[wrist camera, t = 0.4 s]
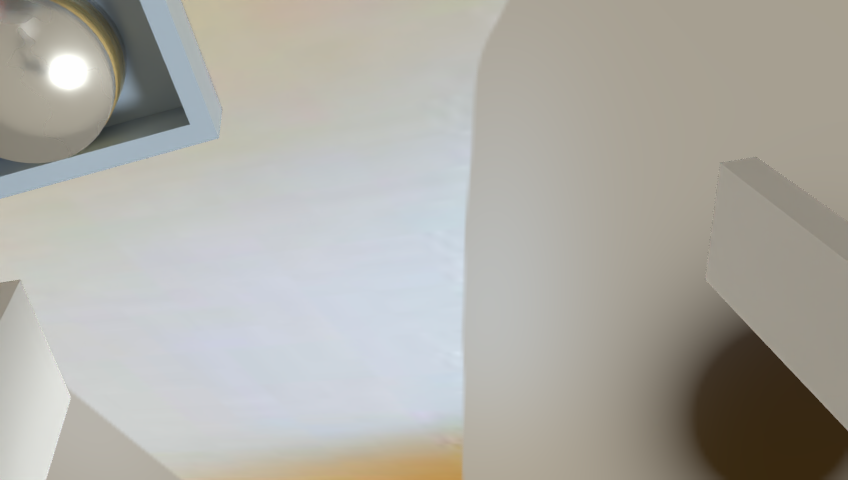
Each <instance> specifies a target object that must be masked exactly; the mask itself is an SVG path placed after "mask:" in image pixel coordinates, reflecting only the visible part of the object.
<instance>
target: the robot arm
mask: <svg viewBox="0 0 848 480" xmlns="http://www.w3.org/2000/svg"><path fill="white" fill-rule="evenodd" d="M705 280H706V281H707V282H708V283H709V284H710V285H711V286H712V287H713V289H715V291H716V292H717V293H718V294H719V295H720V296H721V297H722V298H723V299H724V300H725V301H726V302H727V303H728V304H729V305H730V306H731V308H732V309H733V310H734V311H735V312H736V313H737V314H738V315H739V316H740V317H741V318H742V319H743V320H744V321H745V322H746V323H747V325H748V326H749V327H750V328H751V329H752V330H753V331H754V332H755V333H756V334H757V335H758V336H759V337H760V338H761V339H762V340H763V341H764V342H765V343H766V345H767V346H768V347H769V348H770V349H771V350H772V351H773V352H774V353H775V354H776V355H777V356H778V357H779V358H780V359H781V360H782V362H784V364H785V365H786V366H787V367H788V368H789V369H790V370H791V371H792V372H793V373H794V374H795V375H796V376H797V377H798V378H799V379H800V381H801V382H802V383H803V384H804V385H805V386H806V387H807V388H808V389H809V390H810V391H811V392H812V393H813V394H814V395H815V396H816V397H817V399H818V400H819V401H820V402H821V403H822V404H823V405H824V406H825V407H826V408H827V409H828V410H829V411H830V412H831V413H832V414H833V415H834V416H835V418H836V419H837V420H838V421H839V422H840V423H841V424H842V425H843V426H844V427H845V428H846V429H847V430H848V221H847V220H845V219H844V218H842V217H841V216H839V215H838V214H837V213H835V212H834V211H832V210H831V209H830V208H828V207H827V206H825V205H824V204H822V203H821V202H819V201H818V200H817V199H815V198H814V197H812V196H811V195H810V194H808V193H807V192H805V191H804V190H802V189H801V188H800V187H798V186H797V185H795V184H794V183H793V182H791V181H790V180H788V179H787V178H786V177H784V176H783V175H781V174H780V173H778V172H777V171H776V170H774V169H773V168H771V167H770V166H769V165H767V164H766V163H764V162H763V161H761V160H760V159H759V158H757V157H752V158H746V159H740V160H734V161H728V162H722V163H720V167H719V175H718V183H717V190H716V198H715V206H714V214H713V222H712V229H711V237H710V245H709V252H708V260H707V267H706V275H705ZM70 399H71V397H70V394H69V392H68V390H67V387H66V385H65V383H64V380H63V378H62V376H61V373H60V371H59V369H58V366H57V364H56V362H55V359H54V357H53V355H52V352H51V350H50V348H49V345H48V343H47V341H46V338H45V336H44V334H43V331H42V329H41V327H40V324H39V322H38V320H37V317H36V315H35V313H34V310H33V308H32V305H31V303H30V301H29V298H28V296H27V294H26V291H25V289H24V287H23V284H22V282H21V280H15V281H9V282H3V283H0V480H46V478H47V474H48V471H49V468H50V465H51V461H52V458H53V455H54V452H55V448H56V445H57V442H58V439H59V435H60V432H61V429H62V426H63V422H64V419H65V416H66V413H67V409H68V406H69V403H70Z"/></svg>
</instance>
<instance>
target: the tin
mask: <svg viewBox="0 0 848 480" xmlns="http://www.w3.org/2000/svg"><path fill="white" fill-rule="evenodd" d="M126 74H127V54H126V50H125V45H124V42H123V39H122V36H121V34H120V32H119V30H118V28H117V26H116V24H115V23H114V21H113V20H112V18H111V17H110V16H109V14H108V13H107V12H106V11H105V10H104V8H103V7H102V6H100V5H99V4H98V3H97V2H96V1H95V0H0V158H3V159H6V160H10V161H15V162H22V163H48V162H53V161H58V160H62V159H65V158H68V157H70V156H72V155H74V154H76V153H78V152H80V151H81V150H83V149H84V148H86V147H87V146H88V145H89V144H91V143H92V142H93V141H94V140H95V139H96V137H97V136H98V135H99V134H100V132H101V131H102V129H103V127H104V126H105V125H106V123H107V121H108V120H109V118H110V116H111V114H112V112H113V110H114V108H115V106H116V104H117V101H118V99H119V97H120V94H121V92H122V89H123V85H124V82H125V78H126Z"/></svg>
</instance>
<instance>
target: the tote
mask: <svg viewBox="0 0 848 480" xmlns="http://www.w3.org/2000/svg"><path fill="white" fill-rule="evenodd" d="M95 1H96V2H97V3H98V4H99V5H100V6H102V7H103V8H104V10H105V11H106V12H107V13H108V14H109V16H110V17H111V18H112V20H113V21H114V23H115V24H116V26H117V28H118V30H119V32H120V34H121V36H122V39H123V42H124V45H125V50H126V54H127V74H126V78H125V82H124V85H123V89H122V92H121V94H120V97H119V99H118V101H117V104H116V106H115V108H114V110H113V112H112V114H111V116H110V118H109V120H108V121H107V123H106V125H105V126H104V127H103V129H102V131H101V132H100V134H99V135H98V136H97V137H96V139H95V140H94V141H93V142H92V143H91V144H89V145H88V146H87V147H86V148H84V149H83V150H81V151H80V152H78V153H76V154H74V155H72V156H70V157H68V158H65V159H62V160H58V161H53V162H48V163H22V162H15V161H10V160H6V159H3V158H0V199H1V198H5V197H8V196H12V195H16V194H19V193H23V192H26V191H30V190H34V189H37V188H41V187H44V186H48V185H52V184H55V183H59V182H62V181H66V180H70V179H73V178H77V177H80V176H84V175H88V174H91V173H95V172H99V171H102V170H106V169H109V168H113V167H117V166H120V165H124V164H127V163H131V162H135V161H138V160H142V159H145V158H149V157H153V156H156V155H160V154H163V153H167V152H171V151H174V150H178V149H181V148H185V147H189V146H192V145H196V144H200V143H203V142H207V141H210V140H214V139H218V138H219V133H220V124H221V115H222V108H221V105H220V102H219V100H218V97H217V94H216V92H215V89H214V86H213V84H212V81H211V78H210V76H209V73H208V71H207V68H206V65H205V63H204V60H203V57H202V55H201V52H200V49H199V47H198V44H197V41H196V39H195V36H194V34H193V31H192V28H191V26H190V23H189V20H188V18H187V15H186V12H185V10H184V7H183V4H182V2H181V0H95Z"/></svg>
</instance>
